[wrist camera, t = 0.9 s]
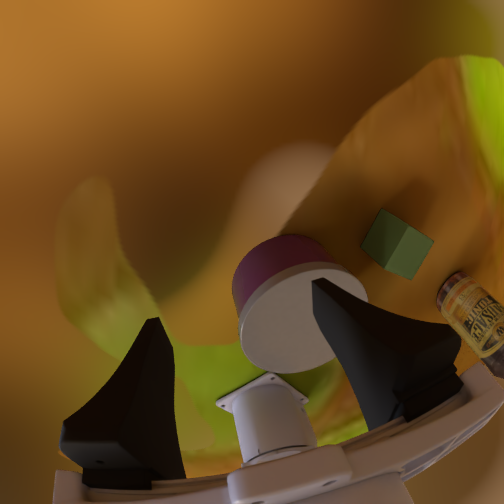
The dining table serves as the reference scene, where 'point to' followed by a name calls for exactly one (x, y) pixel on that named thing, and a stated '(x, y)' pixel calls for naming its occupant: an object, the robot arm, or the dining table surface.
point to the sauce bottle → (475, 318)
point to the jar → (285, 303)
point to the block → (396, 245)
